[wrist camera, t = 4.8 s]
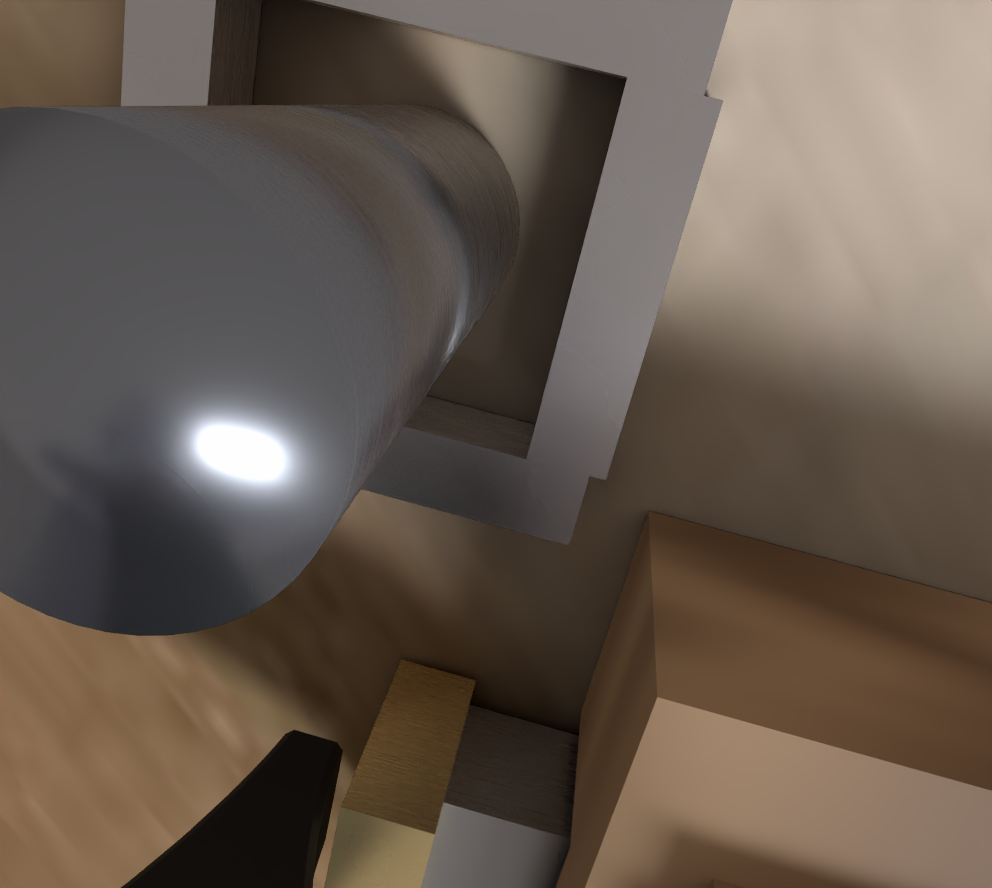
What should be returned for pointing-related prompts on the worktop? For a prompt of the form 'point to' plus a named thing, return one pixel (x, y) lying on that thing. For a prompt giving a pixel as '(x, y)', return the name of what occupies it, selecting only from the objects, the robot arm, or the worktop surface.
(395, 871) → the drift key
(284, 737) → the robot arm
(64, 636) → the worktop surface
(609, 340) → the collar
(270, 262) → the metal cylinder
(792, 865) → the socket block
